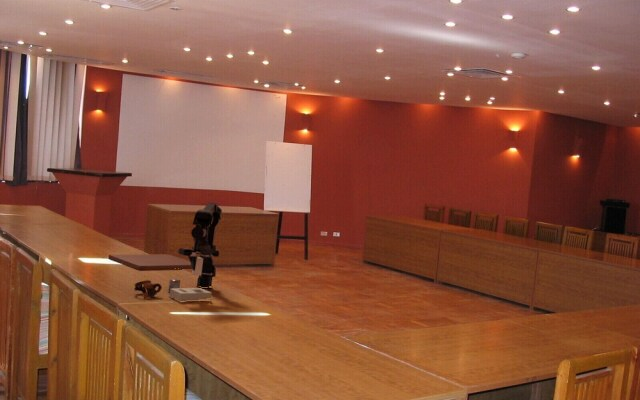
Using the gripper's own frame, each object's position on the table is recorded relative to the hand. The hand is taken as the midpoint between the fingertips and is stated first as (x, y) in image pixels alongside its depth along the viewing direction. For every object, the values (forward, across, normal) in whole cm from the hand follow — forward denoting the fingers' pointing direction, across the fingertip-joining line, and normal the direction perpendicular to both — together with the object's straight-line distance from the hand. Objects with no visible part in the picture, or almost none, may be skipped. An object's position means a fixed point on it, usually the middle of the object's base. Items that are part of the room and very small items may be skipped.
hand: (196, 270), depth 327 cm
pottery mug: (+13, -21, +4) cm, 26 cm away
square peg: (+2, 0, 0) cm, 2 cm away
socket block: (+13, -4, -4) cm, 14 cm away
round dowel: (+12, -5, +10) cm, 17 cm away
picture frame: (+12, +19, +81) cm, 84 cm away
